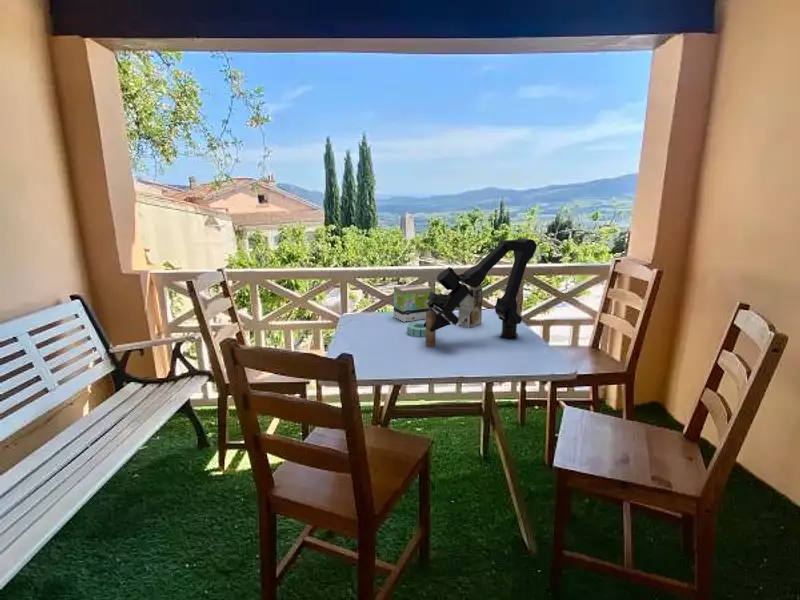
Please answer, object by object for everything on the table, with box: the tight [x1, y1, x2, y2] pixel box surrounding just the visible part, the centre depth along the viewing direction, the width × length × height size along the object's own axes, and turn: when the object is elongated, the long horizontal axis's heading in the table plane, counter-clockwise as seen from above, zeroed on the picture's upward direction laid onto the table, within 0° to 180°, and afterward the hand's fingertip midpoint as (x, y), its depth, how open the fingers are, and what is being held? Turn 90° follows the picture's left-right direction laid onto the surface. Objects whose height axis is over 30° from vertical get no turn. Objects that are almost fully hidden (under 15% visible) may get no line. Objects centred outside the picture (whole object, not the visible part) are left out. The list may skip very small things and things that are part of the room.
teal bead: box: [406, 321, 426, 338], centre depth 188 cm, size 11×11×3 cm
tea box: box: [393, 283, 433, 323], centre depth 210 cm, size 15×10×15 cm, turn 118°
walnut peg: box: [425, 311, 437, 348], centre depth 172 cm, size 4×4×13 cm
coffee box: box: [457, 286, 483, 328], centre depth 198 cm, size 9×6×16 cm
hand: (427, 328), depth 171 cm, fingers open, 6 cm apart
